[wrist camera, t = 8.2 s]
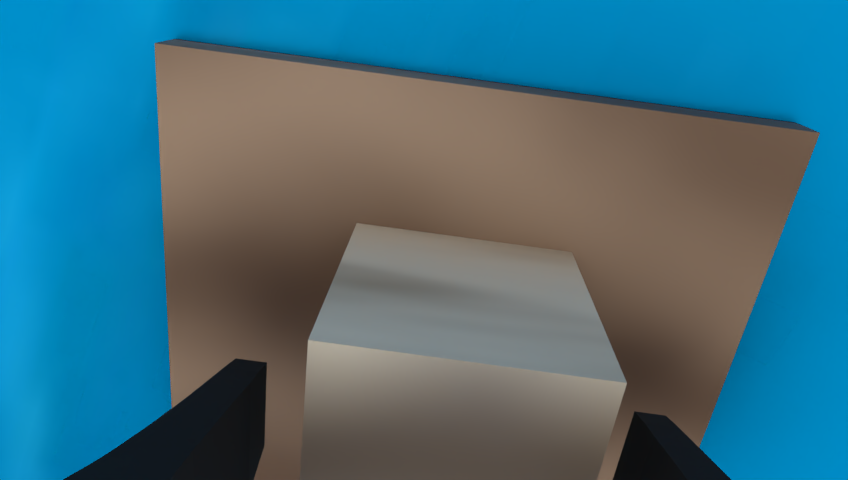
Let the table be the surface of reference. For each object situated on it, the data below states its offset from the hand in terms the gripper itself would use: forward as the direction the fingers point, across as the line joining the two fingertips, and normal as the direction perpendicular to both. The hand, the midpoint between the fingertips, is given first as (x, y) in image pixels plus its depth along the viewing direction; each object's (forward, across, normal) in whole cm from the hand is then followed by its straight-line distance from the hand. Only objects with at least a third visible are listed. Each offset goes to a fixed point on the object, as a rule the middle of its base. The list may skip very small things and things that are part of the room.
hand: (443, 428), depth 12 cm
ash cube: (+3, 0, 0) cm, 3 cm away
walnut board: (+4, 0, 0) cm, 4 cm away
